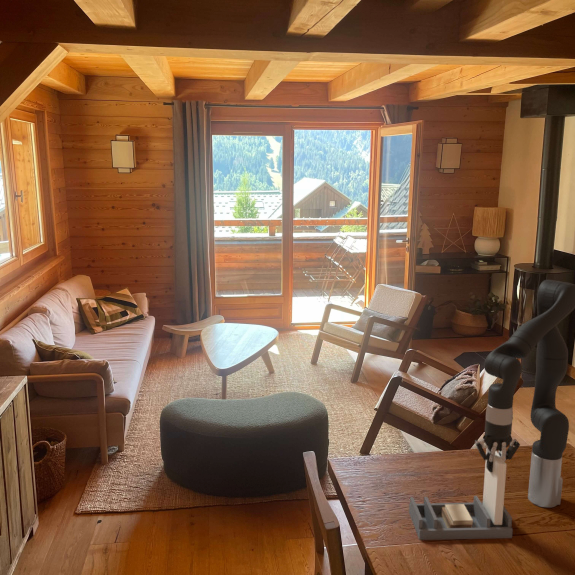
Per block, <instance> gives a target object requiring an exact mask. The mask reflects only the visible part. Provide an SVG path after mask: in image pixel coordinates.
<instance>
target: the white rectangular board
mask: <svg viewBox="0 0 575 575" xmlns="http://www.w3.org/2000/svg"><path fill="white" fill-rule="evenodd" d="M485 454H487V447H486V449H485ZM486 464H487V460H485V464H484V478H483V479H484V480H483V494H482V502H483V507H484V508H485V510H486V512H487V513H488V515H489V517H490V518H491V521H492V522H493V524H494V525H502V518H503V505H504V501H505V489H506V477H507V476H506V475H507V463H506V461H505V462H504V460H503V459H502V458H501V456H500V455H499V452H498V451H496V452H495V455H494V458H493V472H489V471H488V469H487V467H486ZM504 506H505V505H504Z"/></svg>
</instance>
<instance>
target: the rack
mask: <svg viewBox="0 0 575 575" xmlns="http://www.w3.org/2000/svg"><path fill="white" fill-rule="evenodd" d="M423 498H424V499H423V503H417V502H416V500H415V498H414V497H413V496H411V497H409V504H408V514H409V516H410V520H411V522H412V525H413V527H414V529H415V532H416V536H417V537H418V540H419V541H424V540H425V541H431V540H432V541H433V540H437V541H439V540H475V539H477V540H478V539H482V540H484V539H512V538H513V527H512V522H513V517H512V516H511V514H510V512H509V511H508V510H507V508H506V507H505V505H503V518H502V525H494V524H493V522H492V521H491V518H490V517H489V515H488V513H487V512H486V510H485V508H484V507H483V501H481V500H480V499H479V497H478V495H473V501H472V502H439V503H438V502H437V503H436V502H433V503H431V501H430V500H429V498H428V496H423ZM448 504H464V505H465V507H466V509H467V511H468V513H469V514H470V516H471V518H472V520H473V524H472V525H471V526H472V528H447V526H446V524H445V522H444V520H443V518H442V516H441V511H442V507H445V505H448Z"/></svg>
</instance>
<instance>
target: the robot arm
mask: <svg viewBox="0 0 575 575" xmlns="http://www.w3.org/2000/svg"><path fill="white" fill-rule="evenodd" d="M537 289H538V290H537V296H536V308H537V311H536V312H537V316H535V317H533V318H531V319H530V320H527V321H526V322H524V323H523V324H521V325H520V326H519V327H518V328H517V329H516V330H515V331H514V332H513V334H512V335H511V336H510V338H509V339H508V340H507V341H505V342H503V343H502V344H501V345H499V346H498V347H496V348H494V349H493V350H492V351H491V352H489V354H487V356H486V358H485V360H484V364H483V368H484V371H485V372H486V373H487V375H490V376H492V377H496V378H498V379H501V380H502V382H501V383H492V384H491V385H489V387H488V394H487V395H488V396H487V405H486V409H485V410H486V411H485V421H484V434H483V437H482V438H481V439H480V440H479V439H475V440H474V444H475V446H476V449H477V451H478V452H479V454H480V457H482V459H483V461H486V460H487V464H486V467H487V469H488V471H489V472H493V458H494V455H495V452H496V451H497V452H498V454H499V455H500V456H501V458H502V459H503V460H504V462H505V463H506V461H507V460H512V458H513V457H514V456H515V454H516V452H517V450H518V449H519V448H520V446H521V444H520V442H519V441H518V440H517V439H516V438H514V439H513V438H512V428H513V419H514V416H513V415H514V411H513V409H514V408H513V407H514V406H513V405H514V404H513V403H514V394H515V391H516V389H517V385H518V383H519V381H520V379H521V376H522V372H523V366H522V365H523V364H522V363H521V362H520V360H519V359H523V360H524V359H526V358H527V357H528V356H529V355H530V354H531V353H532V351H533V350H534V349H535V348H536V355H535V356H536V357H535V358H536V359H535V379H534V391H533V399H532V403H531V407H530V408H531V409H530V422H531V424H532V425H533V427H534V428H535V429H537V430H538V431H539V432H540V438H539V439H537V440H535V441H534V442H532V446H531V447H532V448H531V457H530V469H529V481H528V490H527V499H528V501H530V503H532V504H534V505H536V506H538V507H540V508H554V507H557V506H558V505H561V500H562V491H563V480H564V479H563V477H562V476H561V475H562V474H561V473H562V462H563V453H564V451H565V449H566V448H567V443H568V437H569V430H570V422H569V421H570V420H569V419H568V417H567V416H566V415H565V413H563V411H560V410H559V409H558V408H557V407H556V397H557V396H556V394H557V390H558V387H559V385H560V383H561V382H562V381H563V379H564V377H566V376H565V375H566V373H567V372H568V361H569V360H568V359H569V350H568V347H567V344H566V341H565V339H564V337H563V336H562V334H561V332H560V329H559V328H558V325H559V323H561V322H562V320H564V319H565V318H566V317H567V316H568V315H570V314H571V313H572V312H573V311H574V310H575V284H573V283H571V282H566V281H560V280H554V279H544V280H543V281H542V282H541V283H540V285H539V286H538V288H537ZM536 346H537V347H536ZM484 444H485V445H486V448H487V454H486V451H484V447H485V445H484Z"/></svg>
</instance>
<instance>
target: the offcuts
mask: <svg viewBox="0 0 575 575" xmlns="http://www.w3.org/2000/svg"><path fill="white" fill-rule="evenodd" d="M441 516H442V518H443V520H444V522H445V524H446V526H447V528H472V526H471V525H472V524H473V520H472V518H471V516H470V514H469V513H468V511H467V509H466V507H465V505H464V504H448V505H445V507H442V511H441Z"/></svg>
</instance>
